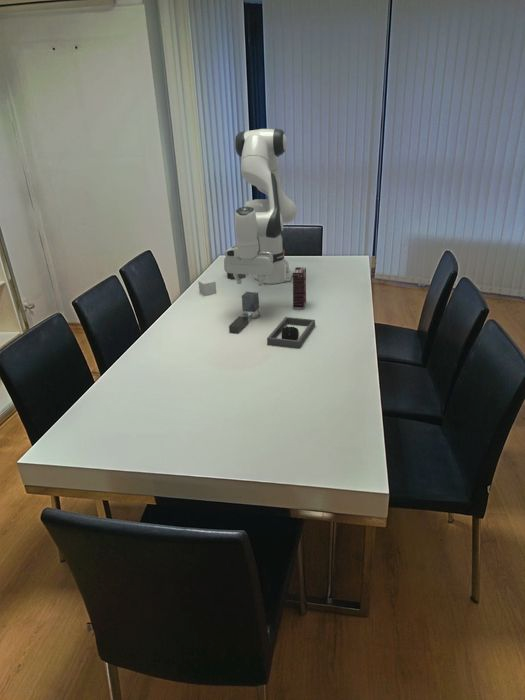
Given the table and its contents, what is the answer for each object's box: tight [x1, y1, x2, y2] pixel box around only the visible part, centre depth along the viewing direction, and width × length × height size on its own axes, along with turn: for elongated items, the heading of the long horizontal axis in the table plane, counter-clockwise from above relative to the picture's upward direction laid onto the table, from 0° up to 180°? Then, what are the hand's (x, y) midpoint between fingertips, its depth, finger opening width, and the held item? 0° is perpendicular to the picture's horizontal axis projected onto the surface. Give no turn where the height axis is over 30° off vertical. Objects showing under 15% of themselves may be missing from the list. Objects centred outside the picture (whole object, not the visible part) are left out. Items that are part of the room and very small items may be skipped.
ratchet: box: [228, 307, 261, 334], centre depth 193 cm, size 22×7×6 cm, turn 159°
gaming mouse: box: [281, 326, 300, 340], centre depth 178 cm, size 6×15×4 cm, turn 174°
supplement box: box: [292, 266, 307, 310], centre depth 205 cm, size 9×5×16 cm, turn 168°
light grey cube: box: [198, 278, 217, 297], centre depth 228 cm, size 6×6×6 cm
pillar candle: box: [226, 273, 247, 281], centre depth 248 cm, size 10×10×15 cm
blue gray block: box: [241, 291, 260, 312], centre depth 198 cm, size 5×5×6 cm
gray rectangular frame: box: [266, 316, 316, 349], centre depth 181 cm, size 21×12×2 cm, turn 159°
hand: (249, 284), depth 195 cm, fingers open, 8 cm apart
